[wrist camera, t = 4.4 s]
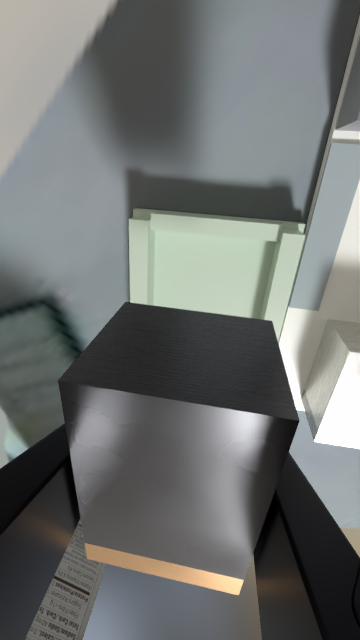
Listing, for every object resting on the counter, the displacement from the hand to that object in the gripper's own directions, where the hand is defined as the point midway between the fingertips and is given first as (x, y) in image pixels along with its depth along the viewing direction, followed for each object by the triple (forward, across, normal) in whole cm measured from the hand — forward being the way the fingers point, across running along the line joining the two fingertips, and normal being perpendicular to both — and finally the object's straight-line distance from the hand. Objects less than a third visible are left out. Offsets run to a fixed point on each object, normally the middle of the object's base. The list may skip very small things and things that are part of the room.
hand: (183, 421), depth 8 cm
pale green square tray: (+10, 0, 0) cm, 11 cm away
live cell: (+1, 0, 0) cm, 1 cm away
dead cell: (+10, -9, +4) cm, 14 cm away
